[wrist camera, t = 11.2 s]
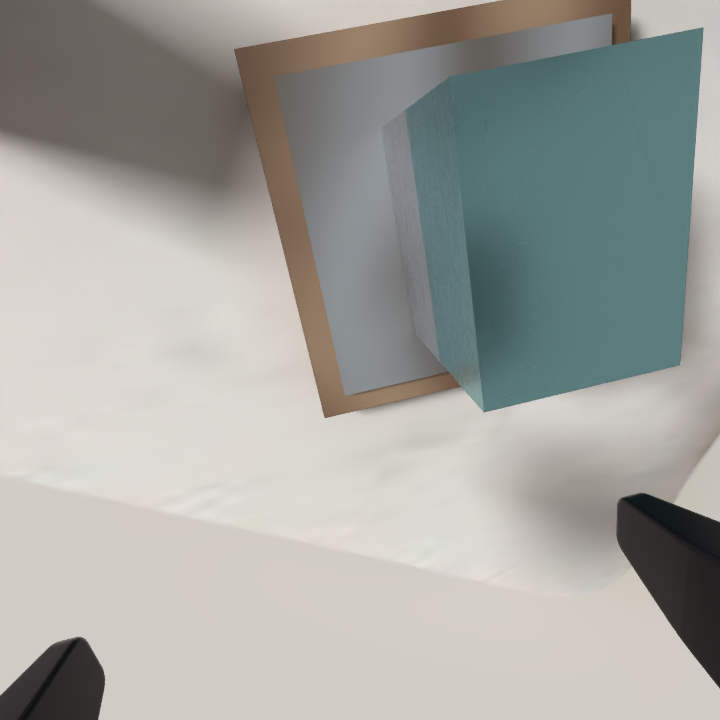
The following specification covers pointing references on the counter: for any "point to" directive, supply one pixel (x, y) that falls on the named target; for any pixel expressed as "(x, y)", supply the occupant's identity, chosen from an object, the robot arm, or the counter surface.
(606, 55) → the teal and white box
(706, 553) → the robot arm
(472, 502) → the counter surface
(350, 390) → the square wooden frame
